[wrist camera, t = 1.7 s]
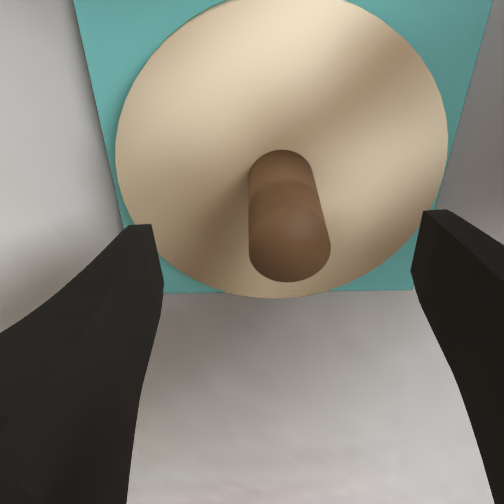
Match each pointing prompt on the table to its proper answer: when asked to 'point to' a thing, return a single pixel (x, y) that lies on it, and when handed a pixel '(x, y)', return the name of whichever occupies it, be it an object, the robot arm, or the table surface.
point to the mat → (191, 3)
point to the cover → (281, 145)
